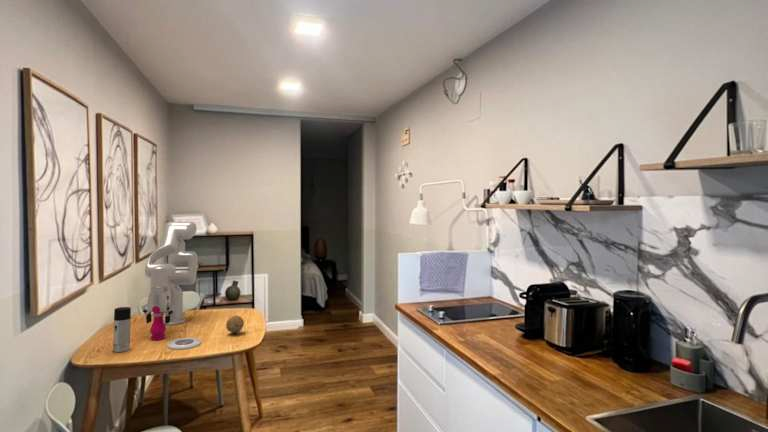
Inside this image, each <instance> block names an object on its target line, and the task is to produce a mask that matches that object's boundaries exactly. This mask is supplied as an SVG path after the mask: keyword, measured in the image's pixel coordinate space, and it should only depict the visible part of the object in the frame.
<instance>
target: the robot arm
mask: <svg viewBox="0 0 768 432" xmlns="http://www.w3.org/2000/svg"><path fill="white" fill-rule="evenodd" d="M196 232H197V224H196V223H195V222H194V221H170V222H169V221H168V222H166V223H165V225H164V229H163V232H162V237H161V242H160V246H159V247H158V248H157V249H155V250H154V251H153V252H152V253H151V254H150V255H149V256H148V257H147V261H146V263H145V268H144V275H145V276H146V277H147V278H149V279H150V291H149V293H148V296H147V303H146V304H144V305H141V307H140V308H141V310H142V312H143V313H144V315H145V316H146V317H145V321H146V324H149V323H151V322H152V316H153V314H152V313H154V312H153V311H152V308H153V307H154V306H158V307H159V308H160V312H164V318H163V322H164V324H165V326H166V325H167V326H169V325H170V326H172V325H180V324H183V323H185V322H186V318H185V317H183V316H185V315H186V312H185V311H183V309H184V308H183V306H184V305H183V304H184V293H183V289H182V288H181V286H190V285H191V286H192V285H194V284H195V283H196V281H197V273H198V272H197V271H198V261H199V260H198V254H197V253H196V252H195V251H190V250H186V242H185V241H184V240H190V239H192V238H193V237H194V236H195V235H196ZM164 257H168V258H167V260H168V261H167V262H168V263H156V262H157V261H158V260H160V259H162V258H164Z"/></svg>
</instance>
